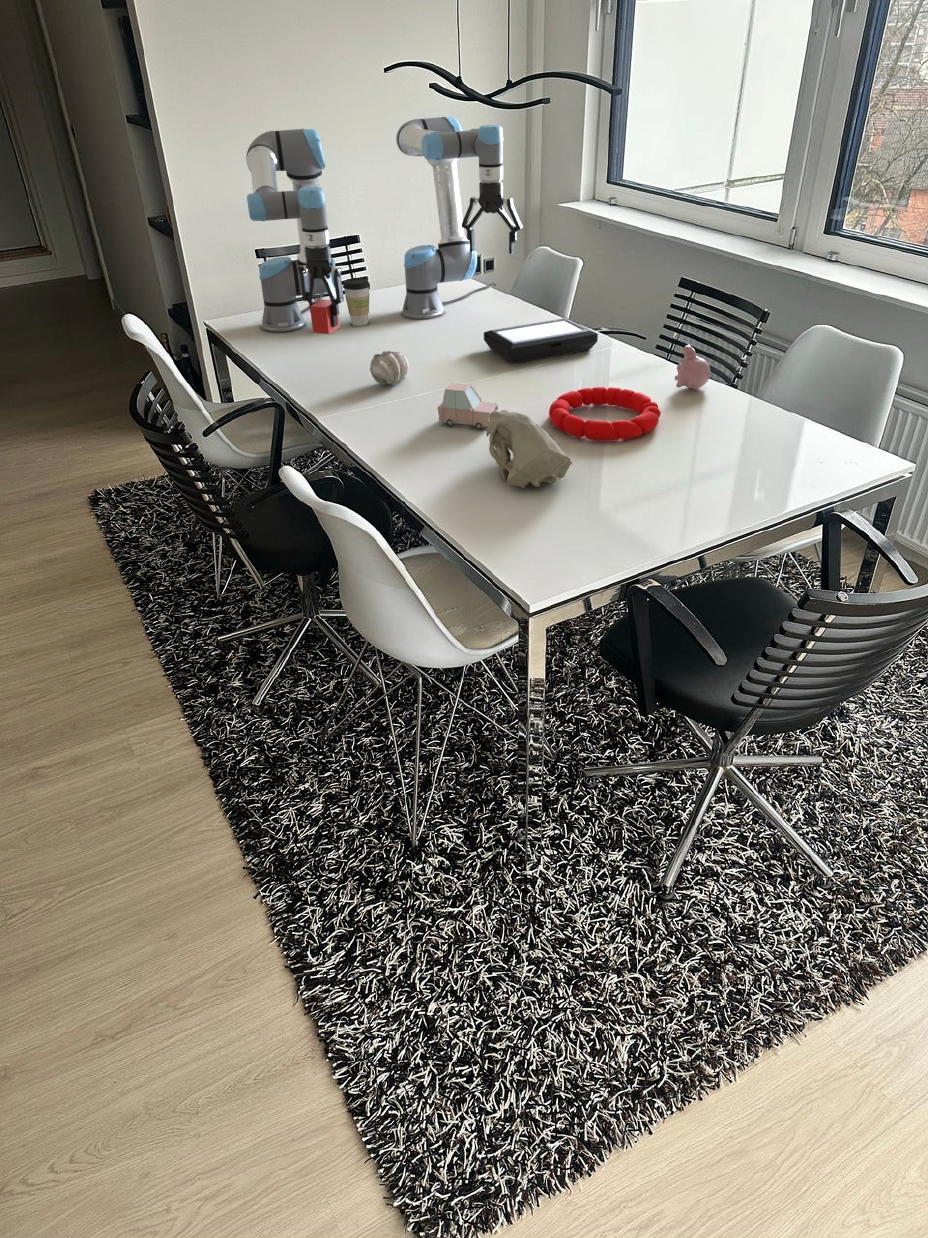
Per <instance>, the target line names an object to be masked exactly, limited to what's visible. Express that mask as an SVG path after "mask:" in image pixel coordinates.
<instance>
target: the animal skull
mask: <svg viewBox="0 0 928 1238" xmlns="http://www.w3.org/2000/svg"><path fill="white" fill-rule="evenodd" d="M485 436H486V438H487V437H489V438H488V440H489V444H488V445H489V446H488V450H489V454H490V456H491V457H492V458H493V459H494V460H495V462H496V464H497V466H499V468H500V470H501V471H502V472H501V478H502V479H507V480H506V484H507V486H517V487H518V486H519V488H523V489H524V488H526V486H527V485H529V483H531V485H533V486H534V487H536V488H540V485H541V484H542V482H544V483H549V484H550V485H553V484H555V483H556V482H557V480H561V479H563V478H565V476H566V474H567V472H568V471H569V469H570V467H571V466H572V464H573V462H572V461H571V458H570V457H568V456H567V455H565V453H564V451H562V449H561V448H560V446H559V444H557V443H556V439H555V438H554V436H553V435H551V434H550V433H548V432H547V431H546V430H545V429H544V428H542V427H541V426H539V425H538V424H537V423H536V424H535V422H534V421H533V419H532V418H531V417H530V416H529V415H527V414H524V413H519V412H515V411H509V410H507V409H502V410H500V411H499V410H497V411H496V412H492V413H491V414H490V422H488V423H487V427H486V435H485ZM511 453H512V454H511ZM511 455H512V457H513V458H512V460H511ZM507 474H508V475H507Z"/></svg>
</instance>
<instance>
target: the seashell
mask: <svg viewBox="0 0 928 1238" xmlns="http://www.w3.org/2000/svg"><path fill="white" fill-rule="evenodd" d="M369 371H370V374H371V377H372V378H373V380H374V381H375V382H376V383H378V384H380V385H387V384H389V385H396V384H397V385H398V384H399V383H401V382H402V380H404V378H405V377H406V376H407V375H408V372H409V361H408V359H407V357H406V355H404V354H402V353H400V352H399V351H398V352H397V351H389V350H387V351H385V350H383V351H382V353H376V354H374V355H373V357H372V359H371V361H370V365H369Z"/></svg>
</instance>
